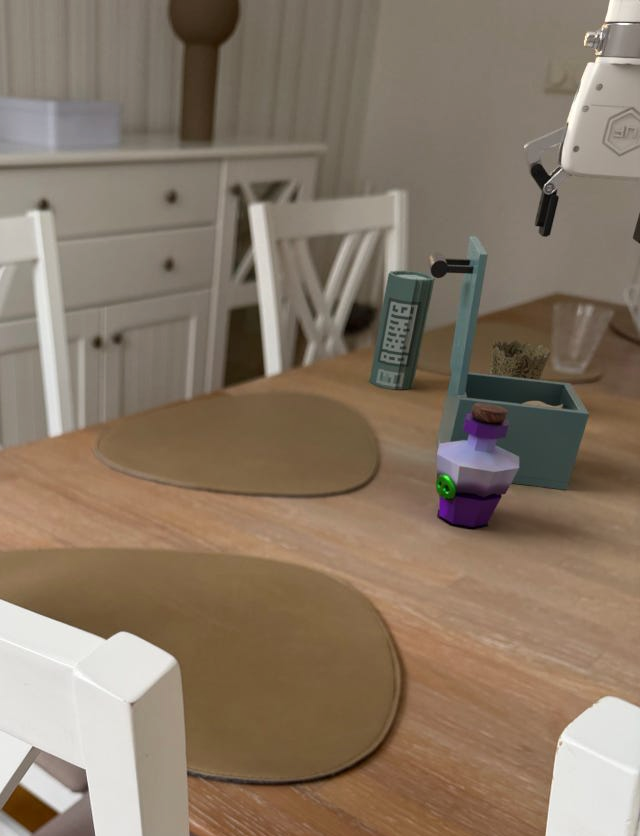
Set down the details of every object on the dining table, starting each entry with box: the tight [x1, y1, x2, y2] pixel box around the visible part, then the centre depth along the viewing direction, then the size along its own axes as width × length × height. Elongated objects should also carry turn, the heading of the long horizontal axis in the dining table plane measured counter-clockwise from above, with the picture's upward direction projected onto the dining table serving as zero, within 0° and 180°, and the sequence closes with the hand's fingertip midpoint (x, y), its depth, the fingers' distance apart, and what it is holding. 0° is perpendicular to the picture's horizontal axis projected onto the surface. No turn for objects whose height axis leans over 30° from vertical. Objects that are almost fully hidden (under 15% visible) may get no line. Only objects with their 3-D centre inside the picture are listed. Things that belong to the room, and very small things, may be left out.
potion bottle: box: [435, 403, 519, 530], centre depth 99 cm, size 9×9×12 cm
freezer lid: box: [427, 235, 489, 395], centre depth 109 cm, size 15×12×5 cm
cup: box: [489, 339, 551, 380], centre depth 135 cm, size 8×7×8 cm
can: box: [368, 269, 436, 391], centre depth 138 cm, size 6×6×15 cm
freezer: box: [436, 371, 590, 491], centre depth 114 cm, size 14×12×9 cm
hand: (591, 238), depth 103 cm, fingers open, 9 cm apart
